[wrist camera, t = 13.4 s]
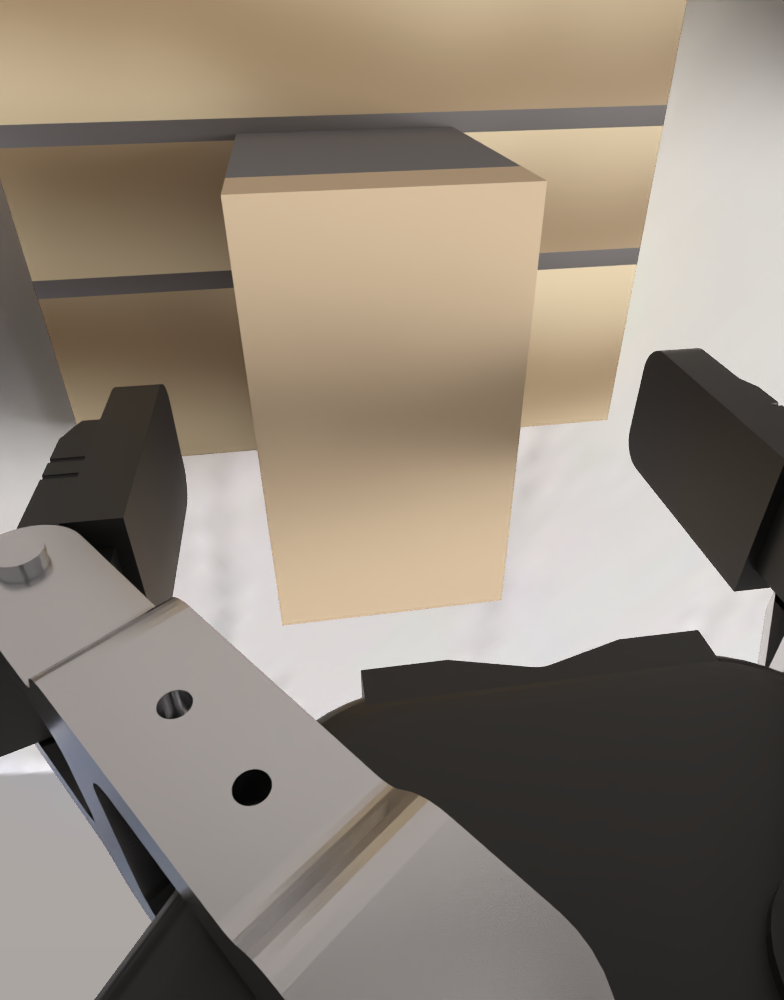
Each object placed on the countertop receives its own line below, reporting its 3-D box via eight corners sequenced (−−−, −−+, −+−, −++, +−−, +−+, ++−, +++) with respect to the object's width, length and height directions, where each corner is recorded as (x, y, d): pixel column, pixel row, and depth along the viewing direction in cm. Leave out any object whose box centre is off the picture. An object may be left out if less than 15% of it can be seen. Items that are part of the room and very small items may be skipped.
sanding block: (236, 134, 14) (220, 194, 9) (452, 127, 15) (546, 181, 10) (277, 466, 19) (282, 625, 14) (441, 452, 19) (501, 600, 14)
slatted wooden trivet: (-140, -422, 11) (-212, -501, 9) (703, -376, 12) (769, -435, 11) (103, 426, 19) (88, 464, 18) (580, 388, 21) (607, 419, 19)
